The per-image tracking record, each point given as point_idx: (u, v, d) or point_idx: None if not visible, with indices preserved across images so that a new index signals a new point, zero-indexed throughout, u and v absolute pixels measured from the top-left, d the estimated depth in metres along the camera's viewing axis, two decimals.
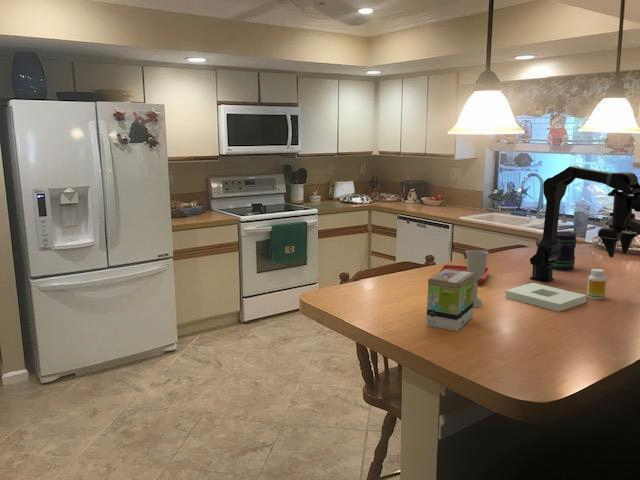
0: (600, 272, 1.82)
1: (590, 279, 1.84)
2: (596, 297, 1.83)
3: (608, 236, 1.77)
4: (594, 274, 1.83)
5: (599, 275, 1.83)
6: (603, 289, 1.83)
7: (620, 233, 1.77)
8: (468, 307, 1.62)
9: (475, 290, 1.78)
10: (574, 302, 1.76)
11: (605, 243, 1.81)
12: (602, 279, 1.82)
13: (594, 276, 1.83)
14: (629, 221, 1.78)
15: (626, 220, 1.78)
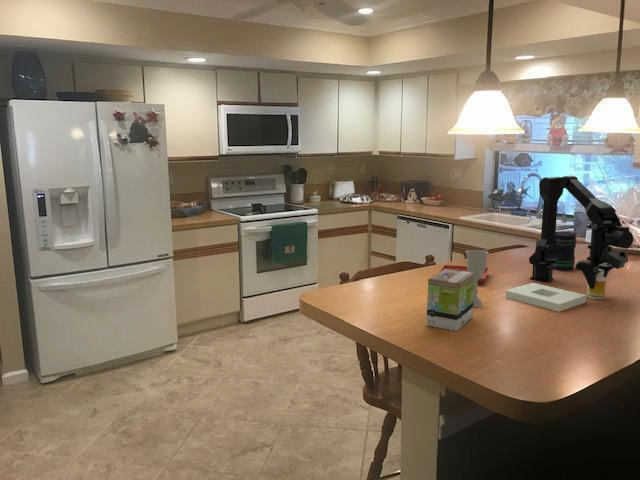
0: (600, 272, 1.82)
1: None
2: (596, 297, 1.83)
3: (585, 269, 1.78)
4: None
5: (599, 275, 1.83)
6: (603, 289, 1.83)
7: (597, 267, 1.77)
8: (468, 307, 1.62)
9: (475, 290, 1.78)
10: (574, 302, 1.76)
11: (585, 275, 1.83)
12: (602, 279, 1.82)
13: None
14: (606, 254, 1.79)
15: (603, 253, 1.79)
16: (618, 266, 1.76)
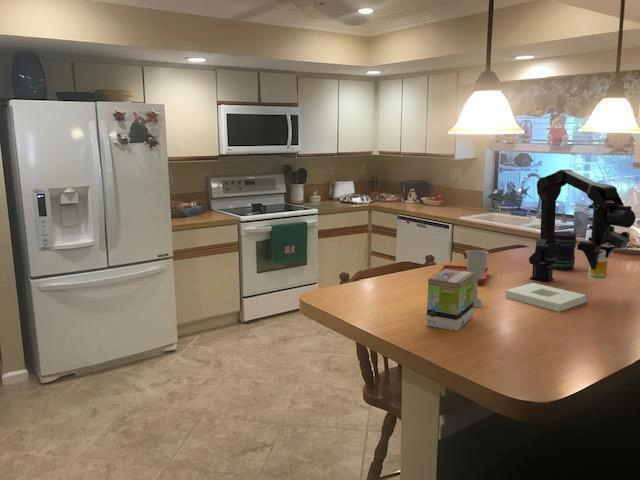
0: (602, 252, 1.81)
1: None
2: (598, 278, 1.82)
3: (587, 249, 1.77)
4: None
5: (601, 255, 1.81)
6: (605, 270, 1.82)
7: (599, 246, 1.76)
8: (468, 307, 1.62)
9: (475, 290, 1.78)
10: (574, 302, 1.76)
11: (587, 255, 1.82)
12: (604, 259, 1.81)
13: None
14: (608, 234, 1.77)
15: (605, 233, 1.78)
16: (620, 246, 1.75)
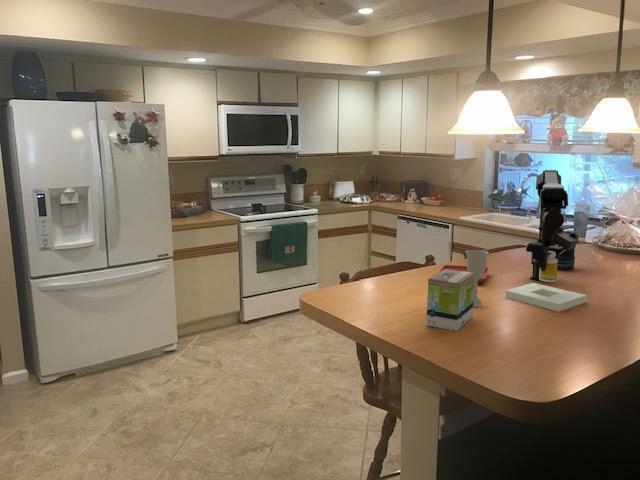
0: (551, 254, 1.79)
1: None
2: (548, 279, 1.80)
3: (535, 251, 1.75)
4: None
5: (550, 257, 1.79)
6: (555, 271, 1.80)
7: (547, 248, 1.74)
8: (468, 307, 1.62)
9: (475, 290, 1.78)
10: (574, 302, 1.76)
11: (537, 257, 1.80)
12: (553, 261, 1.79)
13: None
14: (556, 236, 1.76)
15: (554, 235, 1.76)
16: (568, 247, 1.73)
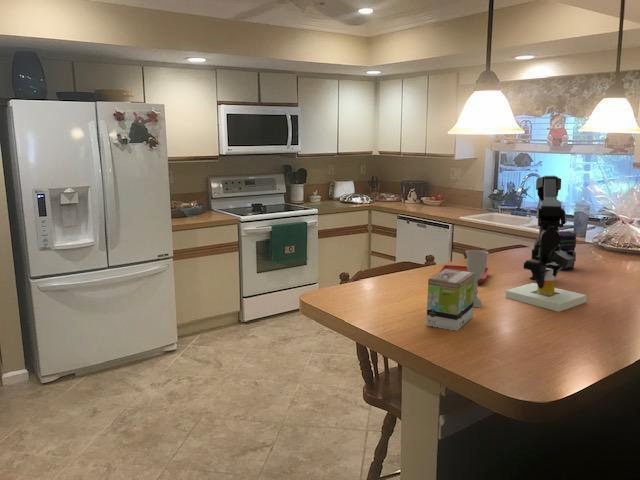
0: (549, 271, 1.80)
1: None
2: None
3: (532, 269, 1.76)
4: None
5: (548, 274, 1.81)
6: (552, 288, 1.81)
7: (544, 266, 1.75)
8: (468, 307, 1.62)
9: (475, 290, 1.78)
10: (574, 302, 1.76)
11: (534, 274, 1.81)
12: (551, 278, 1.80)
13: None
14: (554, 253, 1.77)
15: (551, 252, 1.77)
16: (565, 265, 1.74)
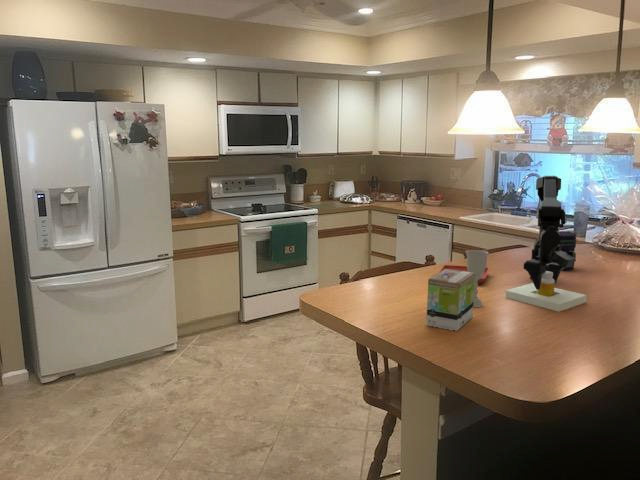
0: (548, 274, 1.80)
1: None
2: None
3: (532, 269, 1.76)
4: (543, 276, 1.81)
5: (548, 277, 1.81)
6: (552, 291, 1.81)
7: (544, 266, 1.75)
8: (468, 307, 1.62)
9: (475, 290, 1.78)
10: (574, 302, 1.76)
11: (531, 275, 1.80)
12: (550, 281, 1.80)
13: (543, 278, 1.82)
14: (554, 254, 1.77)
15: (551, 253, 1.77)
16: (565, 265, 1.74)
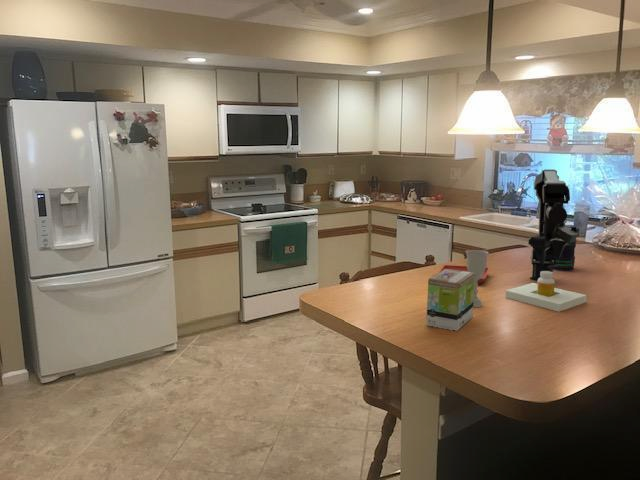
0: (548, 274, 1.80)
1: (539, 281, 1.82)
2: None
3: (537, 244, 1.82)
4: (543, 276, 1.81)
5: (548, 277, 1.81)
6: (552, 291, 1.81)
7: (548, 241, 1.81)
8: (468, 307, 1.62)
9: (475, 290, 1.78)
10: (574, 302, 1.76)
11: (536, 251, 1.86)
12: (550, 281, 1.80)
13: (543, 278, 1.82)
14: (558, 229, 1.82)
15: (555, 228, 1.83)
16: (569, 241, 1.80)
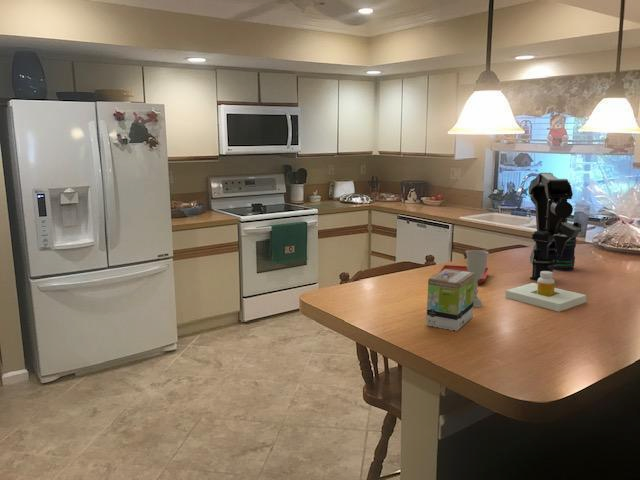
0: (548, 274, 1.80)
1: (539, 281, 1.82)
2: None
3: (540, 239, 1.87)
4: (543, 276, 1.81)
5: (548, 277, 1.81)
6: (552, 291, 1.81)
7: (551, 236, 1.86)
8: (468, 307, 1.62)
9: (475, 290, 1.78)
10: (574, 302, 1.76)
11: (539, 245, 1.91)
12: (550, 281, 1.80)
13: (543, 278, 1.82)
14: (560, 225, 1.87)
15: (558, 224, 1.88)
16: (571, 235, 1.85)
